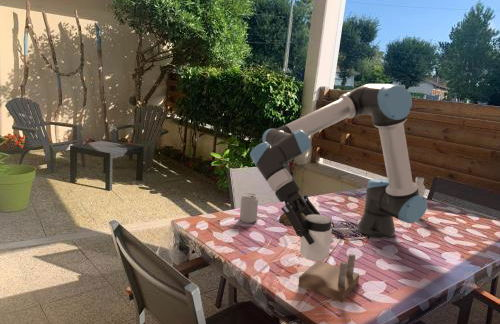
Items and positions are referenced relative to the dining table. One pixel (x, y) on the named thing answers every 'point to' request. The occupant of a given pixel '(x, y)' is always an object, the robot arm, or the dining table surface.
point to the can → (249, 208)
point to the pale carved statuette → (420, 185)
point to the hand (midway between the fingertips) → (325, 247)
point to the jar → (317, 237)
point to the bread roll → (286, 219)
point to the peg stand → (331, 279)
